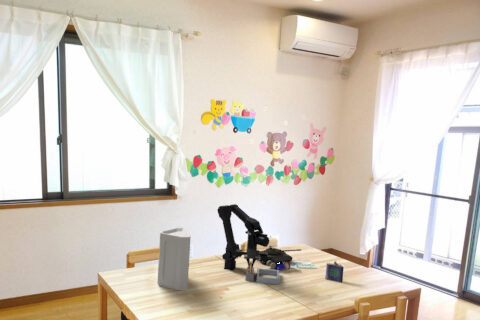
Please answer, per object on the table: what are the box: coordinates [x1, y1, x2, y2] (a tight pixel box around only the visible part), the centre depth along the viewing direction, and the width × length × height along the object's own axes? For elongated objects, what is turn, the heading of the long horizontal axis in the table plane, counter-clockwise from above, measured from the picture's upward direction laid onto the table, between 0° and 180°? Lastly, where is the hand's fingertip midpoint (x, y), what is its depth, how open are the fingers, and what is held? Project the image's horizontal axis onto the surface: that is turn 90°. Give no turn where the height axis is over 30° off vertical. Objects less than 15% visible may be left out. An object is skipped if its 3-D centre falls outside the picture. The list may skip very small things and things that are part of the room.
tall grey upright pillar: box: [156, 226, 191, 291], centre depth 185 cm, size 19×15×28 cm
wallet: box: [324, 260, 344, 283], centre depth 204 cm, size 10×3×12 cm, turn 65°
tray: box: [256, 268, 281, 285], centre depth 199 cm, size 13×14×3 cm
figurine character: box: [266, 256, 293, 270], centre depth 216 cm, size 7×8×15 cm
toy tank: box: [258, 245, 302, 266], centre depth 232 cm, size 12×34×10 cm, turn 110°
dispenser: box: [244, 266, 255, 282], centre depth 200 cm, size 5×12×5 cm, turn 176°
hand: (250, 268), depth 200 cm, fingers closed
